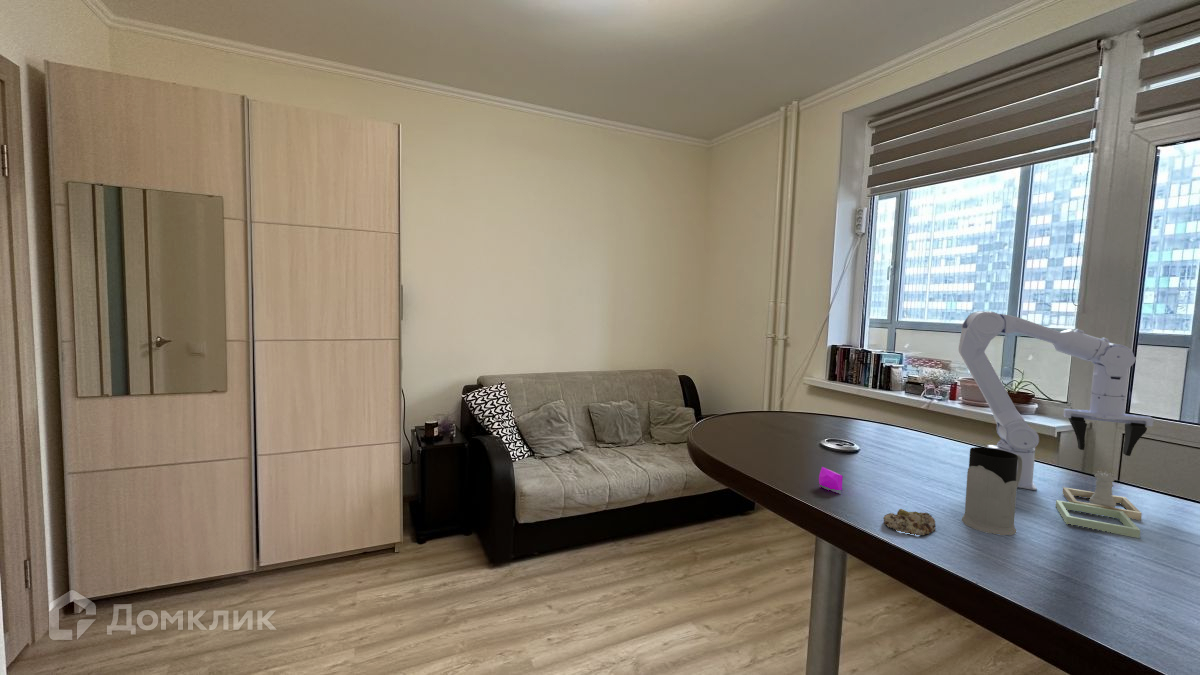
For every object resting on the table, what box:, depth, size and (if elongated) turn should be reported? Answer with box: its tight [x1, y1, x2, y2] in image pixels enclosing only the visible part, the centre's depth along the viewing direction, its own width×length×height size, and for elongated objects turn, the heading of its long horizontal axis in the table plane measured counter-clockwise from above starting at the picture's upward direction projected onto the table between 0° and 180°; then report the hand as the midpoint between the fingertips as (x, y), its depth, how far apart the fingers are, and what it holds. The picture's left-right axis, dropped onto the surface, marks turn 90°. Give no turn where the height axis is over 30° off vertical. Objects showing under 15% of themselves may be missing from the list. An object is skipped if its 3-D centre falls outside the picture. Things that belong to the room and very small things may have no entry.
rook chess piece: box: [1088, 470, 1118, 508], centre depth 109 cm, size 4×4×8 cm
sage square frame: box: [1055, 499, 1141, 539], centre depth 102 cm, size 10×10×2 cm
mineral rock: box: [883, 508, 937, 536], centre depth 98 cm, size 11×4×8 cm
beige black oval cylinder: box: [961, 446, 1022, 536], centre depth 100 cm, size 9×14×15 cm, turn 113°
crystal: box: [818, 466, 844, 491], centre depth 118 cm, size 5×5×5 cm
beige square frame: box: [1062, 486, 1143, 521], centre depth 110 cm, size 10×10×2 cm
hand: (1103, 451), depth 116 cm, fingers open, 7 cm apart
